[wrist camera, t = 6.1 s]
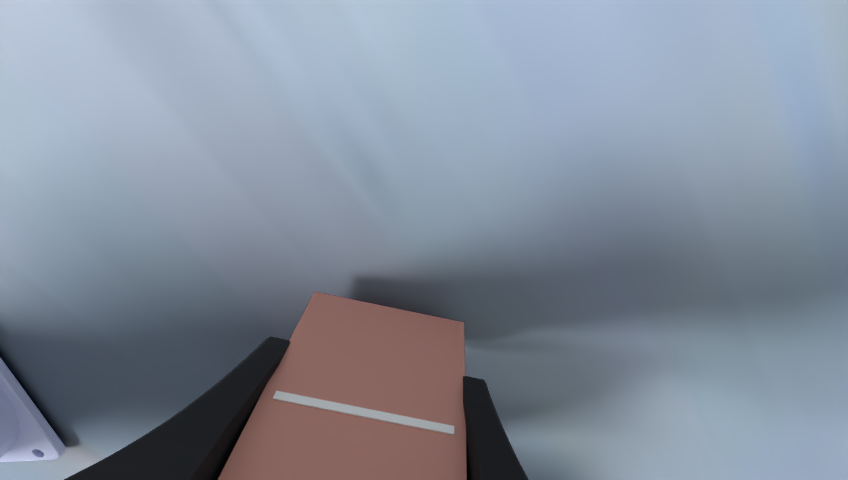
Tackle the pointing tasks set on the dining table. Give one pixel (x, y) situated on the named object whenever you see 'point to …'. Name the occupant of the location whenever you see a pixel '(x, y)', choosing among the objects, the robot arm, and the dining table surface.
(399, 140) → the dining table surface
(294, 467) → the salmon end domino
